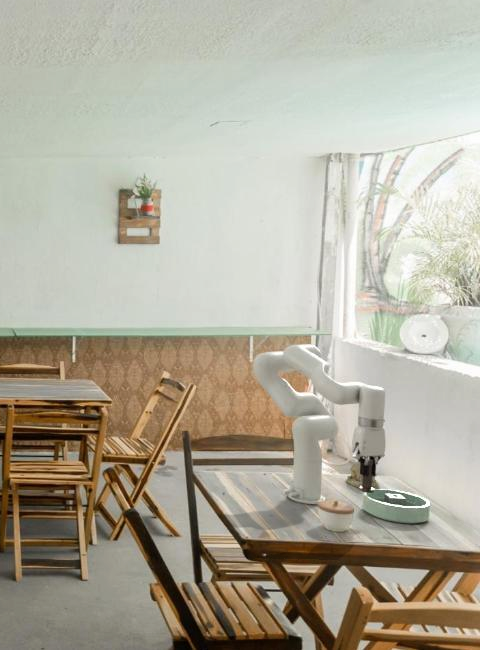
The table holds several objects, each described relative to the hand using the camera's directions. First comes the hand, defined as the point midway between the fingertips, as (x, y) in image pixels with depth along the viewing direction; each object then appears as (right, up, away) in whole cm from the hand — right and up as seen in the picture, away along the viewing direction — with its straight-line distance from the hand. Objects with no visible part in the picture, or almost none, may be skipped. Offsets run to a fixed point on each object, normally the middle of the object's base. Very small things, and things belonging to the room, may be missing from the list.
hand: (367, 474), depth 230 cm
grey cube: (+15, -15, +9) cm, 23 cm away
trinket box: (-15, -16, -6) cm, 23 cm away
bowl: (+14, -16, +7) cm, 22 cm away
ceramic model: (+23, -14, +41) cm, 49 cm away
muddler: (0, -6, 0) cm, 6 cm away
